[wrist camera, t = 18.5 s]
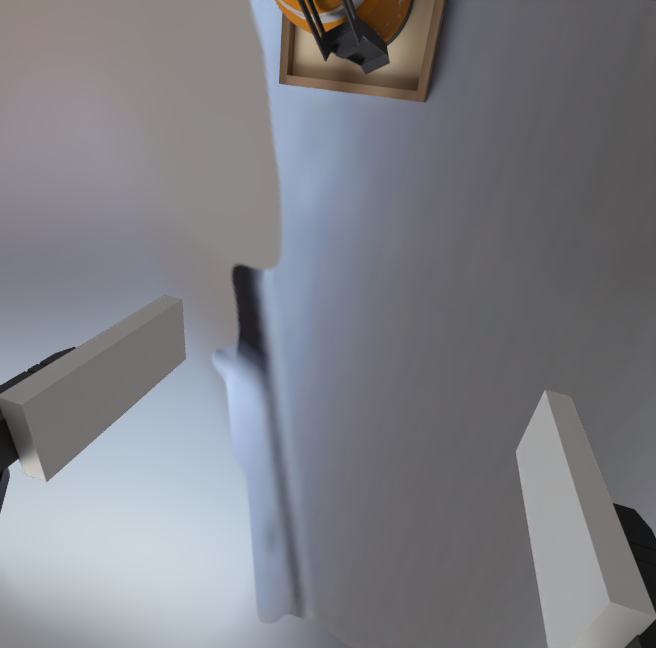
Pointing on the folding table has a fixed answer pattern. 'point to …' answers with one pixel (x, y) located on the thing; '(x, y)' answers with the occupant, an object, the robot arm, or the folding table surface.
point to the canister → (351, 27)
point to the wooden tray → (344, 76)
